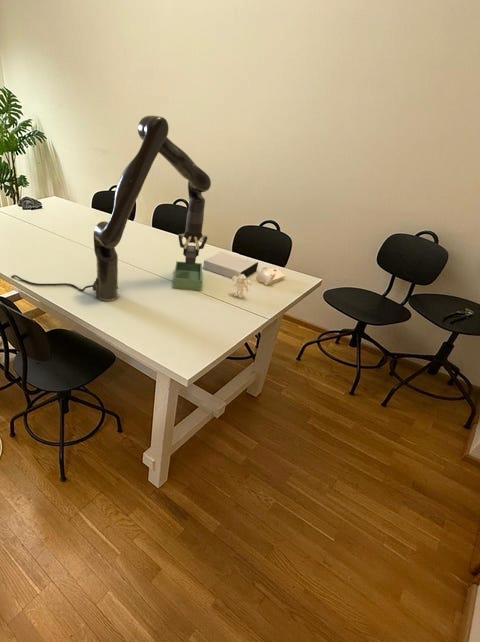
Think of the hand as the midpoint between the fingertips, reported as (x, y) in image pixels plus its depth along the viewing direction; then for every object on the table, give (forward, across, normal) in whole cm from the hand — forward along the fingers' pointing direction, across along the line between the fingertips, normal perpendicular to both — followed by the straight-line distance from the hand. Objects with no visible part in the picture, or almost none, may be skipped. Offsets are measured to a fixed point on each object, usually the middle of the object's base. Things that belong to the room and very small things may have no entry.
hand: (190, 256), depth 178 cm
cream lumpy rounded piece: (+13, -42, -8) cm, 45 cm away
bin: (+13, 0, 0) cm, 13 cm away
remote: (+1, 0, 0) cm, 1 cm away
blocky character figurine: (+13, -24, +13) cm, 30 cm away
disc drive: (+13, -22, -17) cm, 31 cm away
